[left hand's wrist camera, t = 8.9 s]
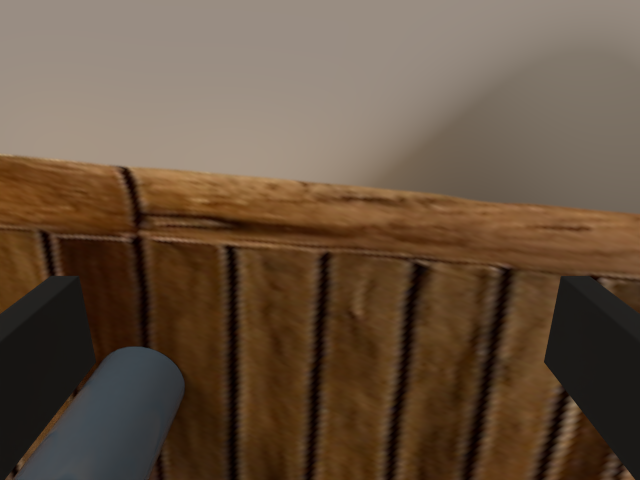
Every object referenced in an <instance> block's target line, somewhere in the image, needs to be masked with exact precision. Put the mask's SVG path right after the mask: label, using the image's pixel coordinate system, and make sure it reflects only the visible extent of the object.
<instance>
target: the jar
mask: <svg viewBox="0 0 640 480" xmlns="http://www.w3.org/2000/svg"><path fill="white" fill-rule="evenodd" d="M184 391H185V384H184V379H183V376H182V374H181V372H180V370H179V369H178V367H177V366H176V365H175V364H174V362H173V361H171V360H170V359H169V358H168V357H166V356H165V355H163V354H162V353H160V352H158V351H155V350H152V349H149V348H144V347H126V348H122V349H118V350H116V351H114V352H112V353H111V354H109V355H108V356H107V357H106V358H105V359H104V360H103V361H102V362H101V364H100V365H99V366H98V367H97V369H96V370H95V371H94V373H93V374H92V375H91V377H90V378H89V379H88V381H87V382H86V383H85V385H84V386H83V387H82V389H81V390H80V391H79V393H78V394H77V395H76V397H75V398H74V399H73V401H72V402H71V403H70V405H69V406H68V407H67V408H66V410H65V411H64V412H63V414H62V415H61V416H60V418H59V419H58V420H57V422H56V423H55V424H54V426H53V427H52V428H51V430H50V431H49V432H48V434H47V435H46V436H45V438H44V439H43V440H42V442H41V443H40V444H39V446H38V447H37V448H36V449H35V451H34V452H33V453H32V455H31V456H30V457H29V459H28V460H27V461H26V463H25V464H24V465H23V467H22V468H21V469H20V471H19V472H18V473H17V475H16V476H15V477H14V479H13V480H149V477H150V475H151V472H152V470H153V468H154V465H155V463H156V461H157V458H158V456H159V453H160V451H161V449H162V446H163V444H164V442H165V439H166V437H167V434H168V432H169V430H170V427H171V425H172V423H173V420H174V418H175V416H176V413H177V411H178V408H179V406H180V404H181V401H182V399H183V396H184Z"/></svg>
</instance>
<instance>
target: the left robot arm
mask: <svg viewBox="0 0 640 480" xmlns="http://www.w3.org/2000/svg"><path fill="white" fill-rule="evenodd" d="M95 363H96V360H95V354H94V349H93V344H92V339H91V334H90V329H89V324H88V319H87V314H86V309H85V304H84V299H83V294H82V289H81V284H80V279H79V276H50V277H49V278H48V279H46V280H45V281H44V282H42V283H41V284H40V285H38V286H37V287H36V288H34V289H33V290H32V291H30V292H29V293H28V294H26V295H25V296H24V297H22V298H21V299H20V300H18V301H17V302H16V303H14V304H13V305H12V306H10V307H9V308H8V309H6V310H5V311H4V312H2V313H1V314H0V480H5V479H6V477H7V476H8V475H9V473H10V472H11V471H12V470H13V468H14V467H15V466H16V464H17V463H18V462H19V461H20V459H21V458H22V457H23V455H24V454H25V453H26V452H27V450H28V449H29V448H30V446H31V445H32V444H33V442H34V441H35V440H36V439H37V437H38V436H39V435H40V433H41V432H42V431H43V430H44V428H45V427H46V426H47V424H48V423H49V422H50V421H51V419H52V418H53V417H54V415H55V414H56V413H57V412H58V410H59V409H60V408H61V406H62V405H63V404H64V403H65V401H66V400H67V399H68V397H69V396H70V395H71V394H72V392H73V391H74V390H75V388H76V387H77V386H78V384H79V383H80V382H81V381H82V379H83V378H84V377H85V375H86V374H87V373H88V372H89V370H90V369H91V368H92V366H93V365H94V364H95ZM544 363H545V364H546V365H547V366H548V368H549V369H550V370H551V372H552V373H553V374H554V375H555V377H556V378H557V379H558V381H559V382H560V383H561V384H562V386H563V387H564V388H565V390H566V391H567V392H568V394H569V395H570V396H571V397H572V399H573V400H574V401H575V403H576V404H577V405H578V406H579V408H580V409H581V410H582V412H583V413H584V414H585V415H586V417H587V418H588V419H589V421H590V422H591V423H592V424H593V426H594V427H595V428H596V430H597V431H598V432H599V433H600V435H601V436H602V437H603V439H604V440H605V441H606V442H607V444H608V445H609V446H610V448H611V449H612V450H613V452H614V453H615V454H616V455H617V457H618V458H619V459H620V461H621V462H622V463H623V464H624V466H625V467H626V468H627V470H628V471H629V472H630V473H631V475H632V476H633V477H634V479H635V480H640V314H639V313H638V312H636V311H635V310H634V309H632V308H631V307H630V306H628V305H627V304H626V303H624V302H623V301H622V300H620V299H619V298H618V297H616V296H615V295H614V294H612V293H611V292H610V291H608V290H607V289H606V288H604V287H603V286H602V285H600V284H599V283H598V282H596V281H595V280H594V279H592V278H591V277H590V276H561V279H560V284H559V289H558V294H557V299H556V304H555V309H554V314H553V319H552V324H551V329H550V334H549V339H548V344H547V349H546V354H545V360H544Z"/></svg>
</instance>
